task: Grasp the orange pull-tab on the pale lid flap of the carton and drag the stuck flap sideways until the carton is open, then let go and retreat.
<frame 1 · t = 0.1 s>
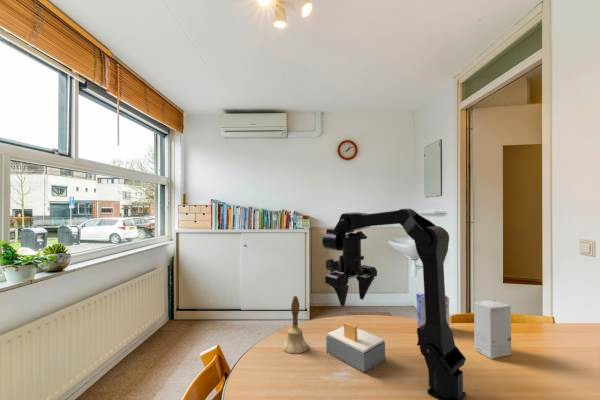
hand: (352, 302, 89), 14 cm above the table, fingers open, 9 cm apart
ink cartridge box: (432, 329, 102), on the table
hand bell: (295, 347, 91), on the table
carton: (355, 356, 85), on the table
flap: (354, 330, 85), point 8 cm above the table, slide at 0.0 cm
skincare box: (492, 353, 87), on the table
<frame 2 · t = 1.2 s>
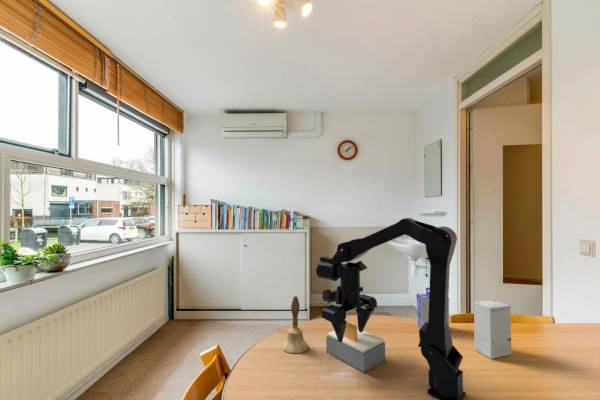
hand: (350, 336, 84), 6 cm above the table, fingers open, 9 cm apart
nothing on the table moved.
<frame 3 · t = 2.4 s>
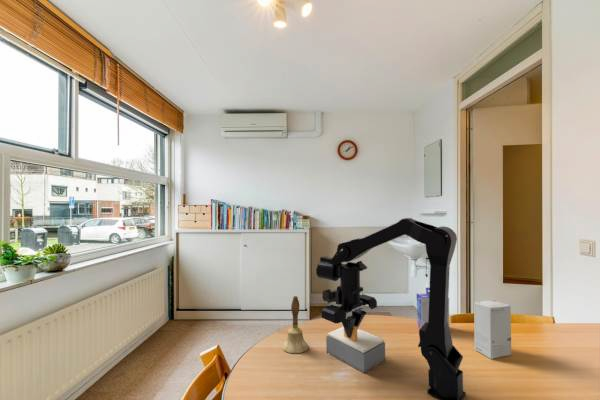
hand: (350, 336, 84), 6 cm above the table, fingers closed on flap
flap: (354, 330, 85), point 8 cm above the table, slide at 0.0 cm, touching gripper
everything else where it was.
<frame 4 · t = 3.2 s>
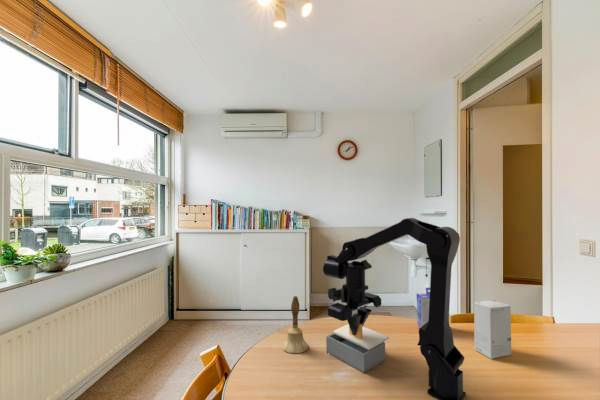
hand: (355, 334, 85), 6 cm above the table, fingers closed on flap
flap: (359, 328, 87), point 8 cm above the table, slide at 2.4 cm, touching gripper
everything else where it was.
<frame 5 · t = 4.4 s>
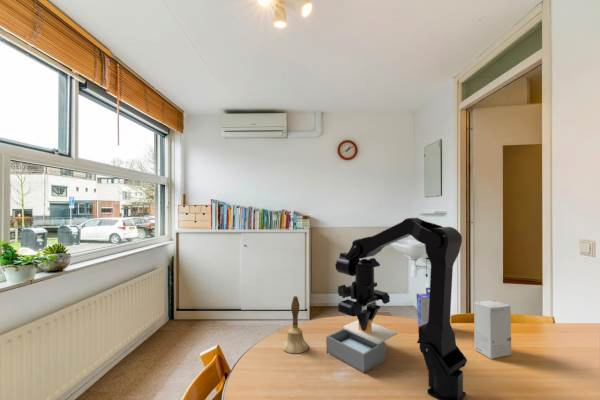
hand: (365, 329, 88), 6 cm above the table, fingers closed on flap
flap: (368, 324, 90), point 8 cm above the table, slide at 6.9 cm, touching gripper
everything else where it was.
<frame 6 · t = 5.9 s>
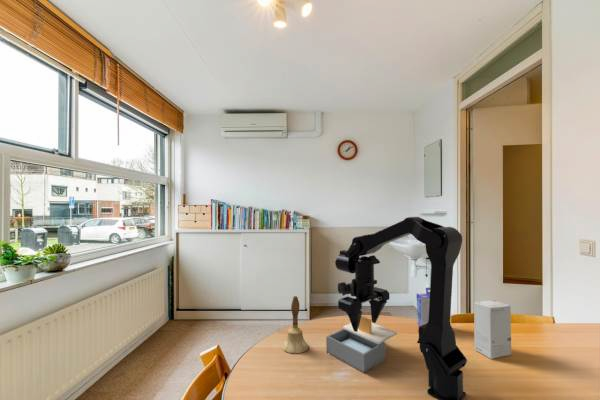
hand: (364, 326, 88), 7 cm above the table, fingers open, 9 cm apart
flap: (368, 324, 90), point 8 cm above the table, slide at 6.9 cm
everything else where it was.
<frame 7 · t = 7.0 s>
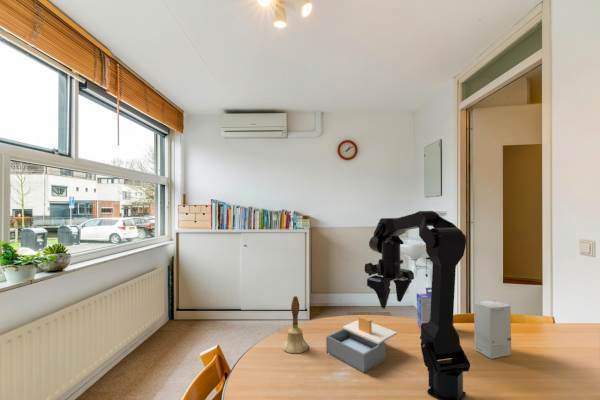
hand: (391, 304, 93), 13 cm above the table, fingers open, 9 cm apart
nothing on the table moved.
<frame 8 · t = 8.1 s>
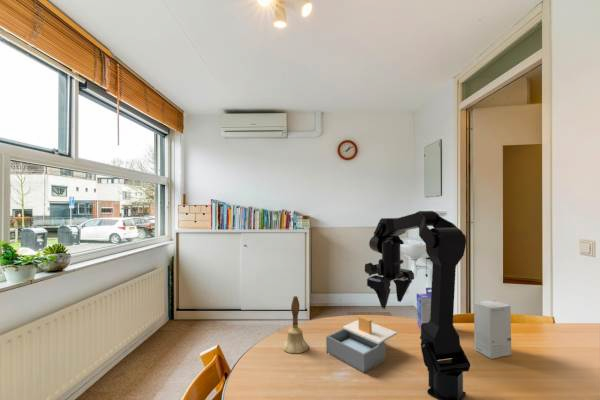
hand: (391, 304, 93), 12 cm above the table, fingers open, 9 cm apart
nothing on the table moved.
at the end: flap slide at 6.9 cm; the gripper is holding nothing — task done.
